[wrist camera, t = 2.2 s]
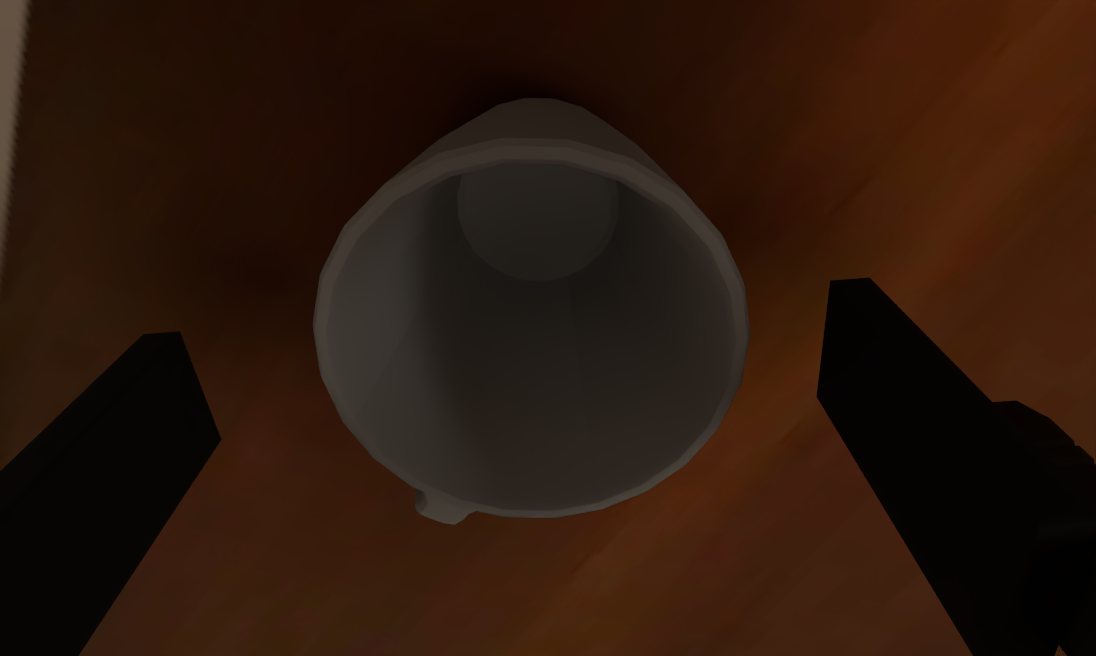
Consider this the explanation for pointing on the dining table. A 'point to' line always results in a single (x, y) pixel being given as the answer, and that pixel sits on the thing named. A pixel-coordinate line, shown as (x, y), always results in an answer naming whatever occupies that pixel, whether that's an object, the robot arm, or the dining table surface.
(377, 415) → the cup
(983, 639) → the robot arm
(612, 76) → the dining table surface
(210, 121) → the dining table surface
